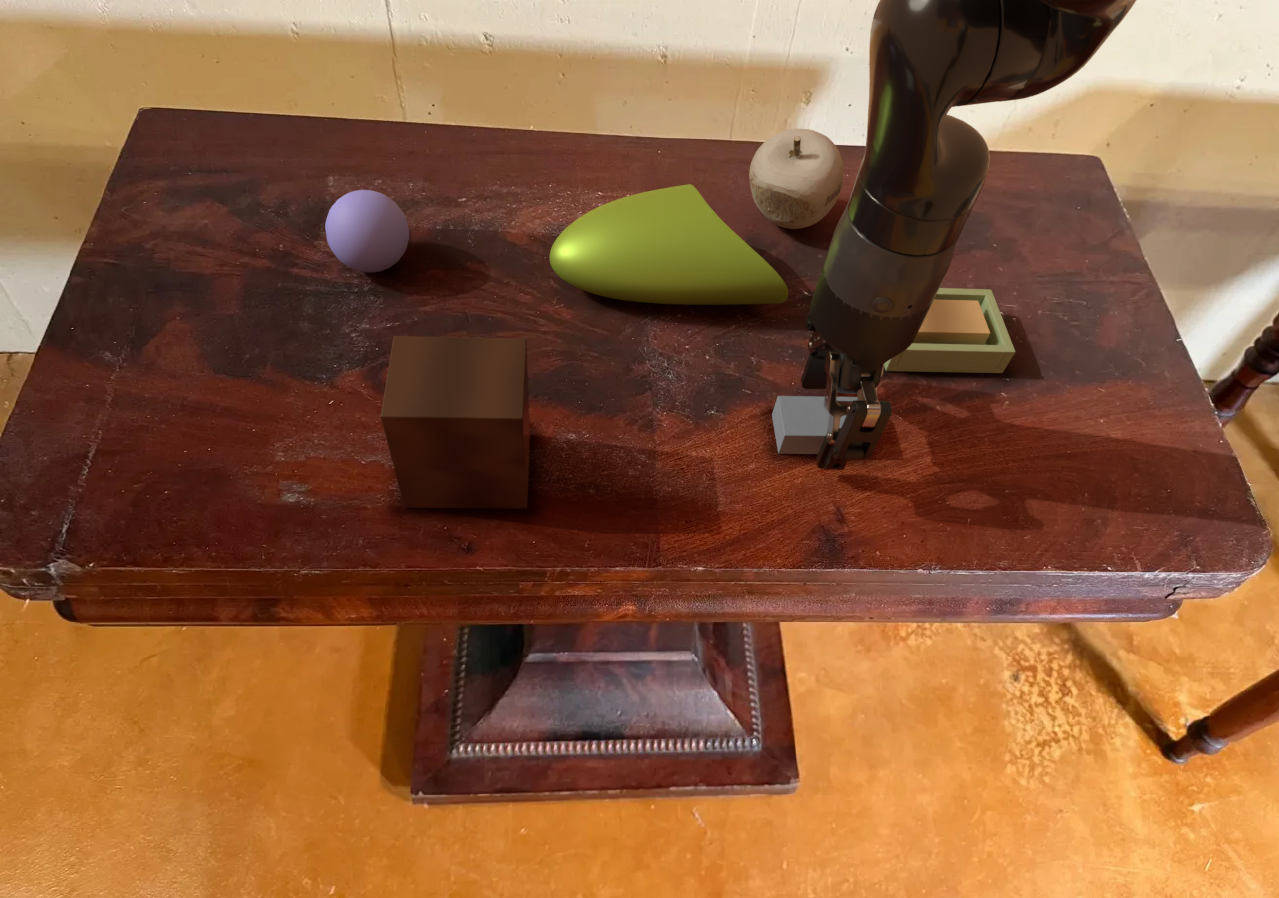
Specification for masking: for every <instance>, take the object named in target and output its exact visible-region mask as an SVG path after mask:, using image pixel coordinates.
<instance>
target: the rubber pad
mask: <svg viewBox="0 0 1279 898" xmlns="http://www.w3.org/2000/svg"><path fill="white" fill-rule="evenodd" d="M824 399H825V396H821V395H820V396H818V395H817V396H816V395H815V396H814V395H813V396H811V395H810V396H809V395H808V396H807V395H778V396H777V397H776V401H775V403H774V407H773V409H772V413H771V417H772V423H773V430H774V431H773V432H774V435H775V436H774V437H775V442H776V443H775V444H776V447H777V449H776V450H777V454H779V455H818V453H819V450H820V448H821V446H822V443H823V441H824V438H825V436H826V433H827V430H828V422H829V413H828V411H827V410H826V409H825V408H824ZM857 399H858V396H837V399H836V400H837V401H854V400H857ZM846 416H847V415H844V416H842V417H841V418H840V425H839V428H841V427H842V425H843V423H844V420H845V418H846Z"/></svg>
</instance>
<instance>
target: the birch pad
mask: <svg viewBox="0 0 1279 898" xmlns="http://www.w3.org/2000/svg"><path fill="white" fill-rule="evenodd" d="M989 335H990V331H989V328H988V325H987V323H986V320H985V317H984V315H983V312H982V309H981V307H980V304H979V301H973V300H935V299H934V300H933V302H932V305H931V307H930V309H929V311H928V313H927V315H926V317H925V319H924V321H923V323H922V325H921V327H920V329H919V332H918V334H917V336H916V338H915V340H914V341H913V343H921V344H968V345H984V344H985V342H986V340H987V339H988V337H989Z"/></svg>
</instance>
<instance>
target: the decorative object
mask: <svg viewBox="0 0 1279 898" xmlns="http://www.w3.org/2000/svg"><path fill="white" fill-rule="evenodd" d="M754 153H755V154H754V155H753V157H752V159H751V162H750V166H749V170H748V171H749V177H748V179H749V186H750V191H751V196H752V199H753V201H754V203H755V205H756V207H757V209H758V210H759V211H760V213H761V214H762V215H763V216H764V218H766V220H768V221H769V222H771V223H772V224H773V225H776V226H778V227H781V228H784V229H789V230H798V229H804V228H808V227H812V226H813V225H815V224H817V223H818V222H819V221H821V220H823V218H824V217H826V216H827V215H828V214H829V213H830V211H831V210H832V208H833V207H834V206H835V204H836V203H837V201H838V199H839V197H840V194H841V192H842V187H843V184H844V178H845V166H844V165H845V164H844V161H843V157H842V155H841V153H840V150H839V148H838V147H837V146H836V144H835V143H834V142H833V141H832V140H831V139H830V138H829V136H827V135H825V134H823V133H821V132H819V131H816V130H814V129H808V128H790V129H786V130H783V131H780V132H777V133H775V134H774V135H771V137H769V138H767V140H765V141H764V142H763V143H762V144H761V145H760V146H759V147H758V149H757V150H756V152H754Z"/></svg>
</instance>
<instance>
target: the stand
mask: <svg viewBox="0 0 1279 898" xmlns="http://www.w3.org/2000/svg"><path fill="white" fill-rule="evenodd" d="M392 337H393V338H392V344H391V351H390V357H389V362H388V369H387V375H386V380H385V385H384V386H385V387H384V393H383V399H382V405H381V411H380V419H381V424H382V427H383V431H384V434H385V435H384V436H385V439H386V442H387V443H386V444H387V447H388V450H389V454H390V458H391V462H392V466H393V471H394V473H395V477H396V481H397V486H398V489H399V492H400V496H401V501H402V505H403V508H404V509H524V510H525V509H528V499H529V472H530V448H531V447H530V446H531V445H530V444H531V443H530V442H531V423H530V421H531V420H530V398H529V397H530V395H529V373H528V372H529V369H528V349H527V346H528V345H527V338H505V337H504V338H502V337H460V336H459V337H458V336H457V337H456V336H415V335H414V336H412V335H411V336H410V335H409V336H407V335H394V336H392Z"/></svg>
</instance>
